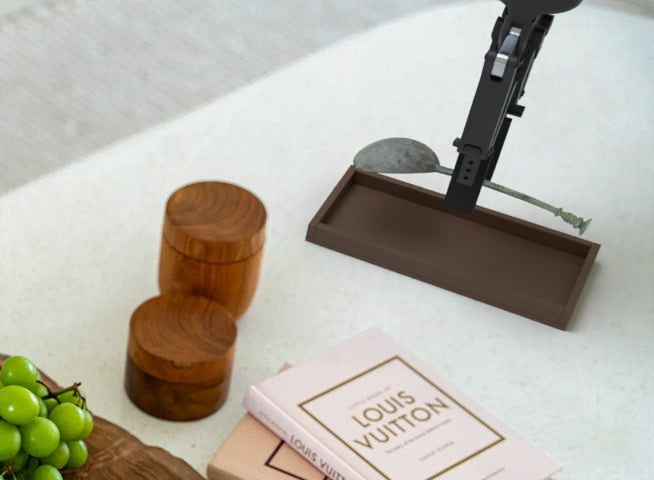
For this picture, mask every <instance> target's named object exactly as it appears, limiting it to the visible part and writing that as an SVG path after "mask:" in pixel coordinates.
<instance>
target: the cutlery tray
mask: <svg viewBox="0 0 654 480" xmlns="http://www.w3.org/2000/svg"><path fill="white" fill-rule="evenodd" d="M445 195H446V193H445V194H444V193H441V192H438V191H435V190H432V189H429V188H426V187H422V186H420V185H416V184H413V183H410V182H408V181H407V182H406V181H404V180H400V179H397V178H395V177H392V176H389V175H385V174H383V173H374V172H365V171H361V170H358V169H357V168H355V167H354V165H353V164H350V165H349V167H348V168H347V169H346V171H345V172H344V174H343V175H342V176H341V178H340V179H339V181H338V182H337V183H336V185H335V187H333V189H332V191H331V192H330V193H329V195H328V196H327V197H326V199H325V200H324V201H323V203H322V204H321V206H320V207H319V208H318V210H317V211H316V213H315V214H314V216H313V217H312V219H311V220H310V221H309V223H308V225H307V229H306V234H305V238H304V240H305V241H307V242H309V243H313V244H316V245H318V246H320V247H324V248H327V249H330V250H333V251H336V252H339V253H341V254H344V255H346V256H350V257H352V258H356V259H359V260H362V261H364V262H367V263H370V264H373V265H375V266H378V267H381V268H384V269H386V270H390V271H393V272H396V273H398V274H401V275H404V276H407V277H411V278H413V279H416V280H418V281H421V282H424V283H427V284H429V285H432V286H436V287H439V288H441V289H444V290H447V291H449V292H453V293H456V294H458V295H461V296H463V297H467V298H470V299H473V300H476V301H478V302H482V303H484V304H487V305H490V306H493V307H495V308H498V309H502V310H504V311H507V312H510V313H512V314H516V315H519V316H521V317H524V318H526V319H529V320H532V321H535V322H538V323H541V324H544V325H547V326H550V327H553V328H556V329H559V330H562V331H566V329H567V326H568V325H569V322H570V320H571V318H572V316H573V313H574V311H575V309H576V306H577V304H578V302H579V299H580V296H581V295H582V292H583V290H584V287H585V285H586V283H587V280H588V279H589V278H588V277H589V275H590V273H591V271H592V269H593V266H594V264H595V261H596V259H597V257H598V254H599V251H600V249H601V247H602V244H600V243H597V242H595V241H591V240H588V239H585V238H583V237H580V236H579V237H578V236H576V235H572V234H569V233H567V232H564V231H560V230H557V229H554V228H551V227H547V226H544V225H541V224H538V223H535V222H532V221H529V220H525V219H522V218H519V217H516V216H513V215H510V214H507V213H504V212H500V211H497V210H494V209H491V208H489V207H488V208H487V207H485V206H482V205H479V204H476V206H475V209H474V211H473V213H472V214H469V213H466V212H463V211H460V210H457V209H453V208H450V207H447V206H444V205H443V202H444V199H445Z"/></svg>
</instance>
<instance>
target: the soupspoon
mask: <svg viewBox="0 0 654 480" xmlns="http://www.w3.org/2000/svg"><path fill="white" fill-rule="evenodd" d="M352 165H354V167H355V168H357V169H358V170H361V171H365V172H374V173H379V174H390V175H400V174H401V175H404V174H405V175H406V174H407V175H409V174H410V175H411V174H412V175H413V174H430V173H437V174H441V175H445V176H449V177H452V174H453V170H454V168H451V167H447V166H443V165H441V162H440V159H439V156H438V155H437V154H436V152H435V151H434V150H433V149H432V148H431V147H430V146H428V145H427V144H426V143H423V142H421V141H419V140H416V139H413V138H409V137H402V136H401V137H400V136H399V137H387V138H382V139H379V140H376V141H374V142H372V143H369V144H367V145H366V146H364V147H363V148H361V149H360V150H358V152H356V154H355V155H354V157H353V160H352ZM482 187H485V188H488V189H490V190H493V191H495V192H499V193H502V194H505V195H507V196H510V197H513V198H514V199H518V200H520V201H523V202H526V203H528V204H530V205H533V206H536V207H538V208H541V209H543V210H545V211H548V212H550V213H553V214H554V218H557V217H560V218H561V219H562V220H563V222H564V223H566V224H569V225H572V228H573V229H574V230H576V229H579V231H578V236H579V237H580V236H582V235H583V234H584V233H585V232H586V230H587V229H588V227H589V226H590V225H591V223H592V221H593V218H589V219H588V220H586V221H584V217H582V216H580V217H578V216H577V215H575V214H574V213H572V212H569V211H564V209H563V207H556V206H554V205H551V204H549V203H547V202H545V201H543V200H540V199H537V198H535V197H533V196H530V195H528V194H525V193H523V192H520V191H517V190H515V189H512V188H510V187H506V186H504V185H502V184H498V183H496V182H494V181H488V180H484V182H483V185H482Z"/></svg>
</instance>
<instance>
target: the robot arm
mask: <svg viewBox="0 0 654 480" xmlns="http://www.w3.org/2000/svg"><path fill="white" fill-rule="evenodd" d="M497 1H498V2H501V3H502V5H504V8H503V11H502V14H501V16H499V15H498V16H497V18H496V20H495V22H494V25H493V27H492V31H491V33H490V37H491V43H490V46H489V49H488V50H487V51H486V53H485V54H484V56H483V59H484V62H483V64H482V69H481V73H480V77H479V80H478V83H477V87H476V90H475V93H474V96H473V99H472V102H471V105H470V108H469V111H468V115H467V118H466V121H465V125H464V127H463V131H462V134H461V137H457V136H456V137H455V138H454V140H453V142H452V147H455V148H456V153H458V155H457V158H456V161H455V164H454V168H453V169H454V170H453V174H452V176H450V180H449V182H448V186H447V189H446V192H445V199H444V202H443V205H444V206H447V207H450V208H453V209H457V210H460V211H463V212H466V213H469V214H472V213H473V211H474V209H475V206H476V205H477V203H478V199H479V198H480V193H481V191H482V188H483V186H482V185H483V182H484V180H488V181H490V182H492V179H493V177H494V173H495V171H496V168H497V165H498V162H499V159H500V156H501V153H502V151H503V147H504V145H505V142H506V139H507V136H508V134H509V130H510V127H511V125H512V122H513V118H511V117H508V115H510V116H513V117H515V118H519V119H521V118H522V117H523V114H524V112H525V110H526V106H524V105H521V104H519V100H521V99H522V98H523V97H524V95H525V93H526V90H525V89H526V87H527V83H528V80H529V77H530V74H531V73H532V69H533V66H534V63H535V60H536V59H537V58H538V55H539V54H540V51H541V50H542V47H543V44H544V40H545V38H546V37H547V36H548V34H549V32H550V30H551V27H552V26H553V23H554V20H555V17H556V16H555V15H558V14H564V13H567V12H570V11H573V10H574V9H576V8H577V7H579V6H580V5H581V4H582V2H583V1H584V0H497Z"/></svg>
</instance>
